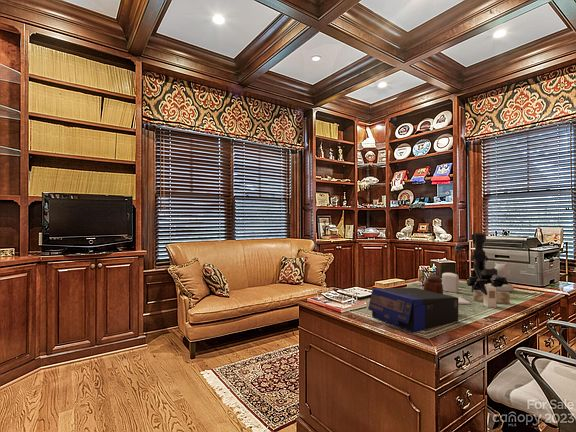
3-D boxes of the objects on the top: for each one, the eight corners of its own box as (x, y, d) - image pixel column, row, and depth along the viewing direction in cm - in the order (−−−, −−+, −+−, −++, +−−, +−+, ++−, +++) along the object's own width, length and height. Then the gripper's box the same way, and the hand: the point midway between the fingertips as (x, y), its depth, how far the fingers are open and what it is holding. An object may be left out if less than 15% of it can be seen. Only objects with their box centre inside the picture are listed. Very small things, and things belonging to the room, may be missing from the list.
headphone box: (367, 318, 155) (367, 289, 155) (415, 308, 173) (415, 281, 173) (408, 334, 134) (409, 300, 134) (458, 321, 151) (458, 291, 151)
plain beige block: (491, 305, 178) (491, 285, 178) (496, 307, 174) (496, 287, 174) (483, 304, 179) (483, 285, 179) (488, 307, 174) (488, 287, 174)
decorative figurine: (482, 287, 221) (482, 259, 221) (501, 287, 223) (502, 259, 223) (499, 293, 206) (499, 262, 206) (519, 292, 208) (519, 262, 208)
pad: (460, 298, 191) (460, 297, 191) (470, 304, 179) (470, 302, 179) (440, 298, 192) (440, 296, 192) (448, 303, 180) (448, 302, 180)
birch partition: (474, 300, 188) (474, 290, 188) (473, 299, 189) (473, 289, 189) (509, 303, 182) (509, 293, 182) (508, 302, 183) (508, 292, 183)
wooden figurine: (447, 310, 168) (448, 276, 168) (440, 312, 164) (440, 277, 164) (427, 305, 178) (427, 273, 178) (420, 306, 175) (420, 274, 175)
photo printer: (440, 290, 213) (441, 272, 213) (443, 289, 216) (444, 271, 216) (456, 293, 205) (457, 274, 205) (459, 292, 208) (459, 273, 208)
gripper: (469, 262, 181) (478, 286, 170) (503, 263, 179) (515, 287, 168) (462, 274, 189) (471, 297, 178) (496, 274, 187) (506, 298, 176)
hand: (491, 294), depth 175 cm, fingers closed on plain beige block, 4 cm apart
